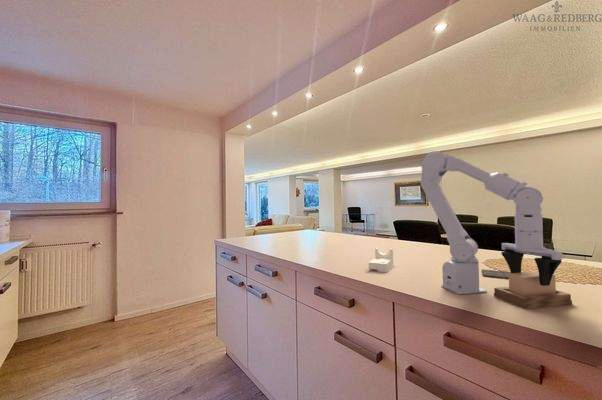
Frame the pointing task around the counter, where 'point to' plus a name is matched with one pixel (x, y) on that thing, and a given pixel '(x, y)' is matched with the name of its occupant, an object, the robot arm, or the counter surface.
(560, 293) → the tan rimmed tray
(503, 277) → the chocolate bar
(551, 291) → the clay block
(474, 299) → the counter surface
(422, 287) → the counter surface
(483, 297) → the counter surface
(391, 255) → the bracket
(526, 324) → the counter surface
